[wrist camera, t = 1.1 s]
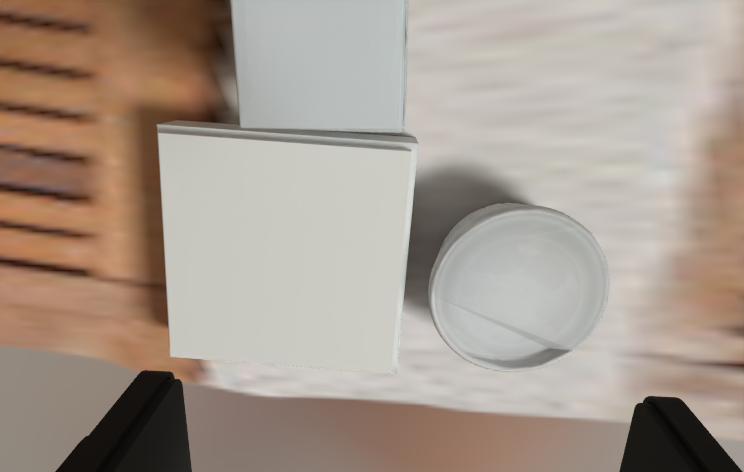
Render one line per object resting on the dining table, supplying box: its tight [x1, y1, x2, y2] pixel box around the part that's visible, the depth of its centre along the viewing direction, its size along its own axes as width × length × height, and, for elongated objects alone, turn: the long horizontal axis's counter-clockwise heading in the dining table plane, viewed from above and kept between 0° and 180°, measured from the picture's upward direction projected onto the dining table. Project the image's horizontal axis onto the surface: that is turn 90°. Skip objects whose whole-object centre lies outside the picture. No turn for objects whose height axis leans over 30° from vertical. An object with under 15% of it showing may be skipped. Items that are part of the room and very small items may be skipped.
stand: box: [157, 120, 418, 374], centre depth 35 cm, size 16×16×4 cm
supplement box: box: [230, 0, 408, 133], centre depth 27 cm, size 7×7×13 cm
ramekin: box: [428, 203, 610, 372], centre depth 34 cm, size 11×11×5 cm
